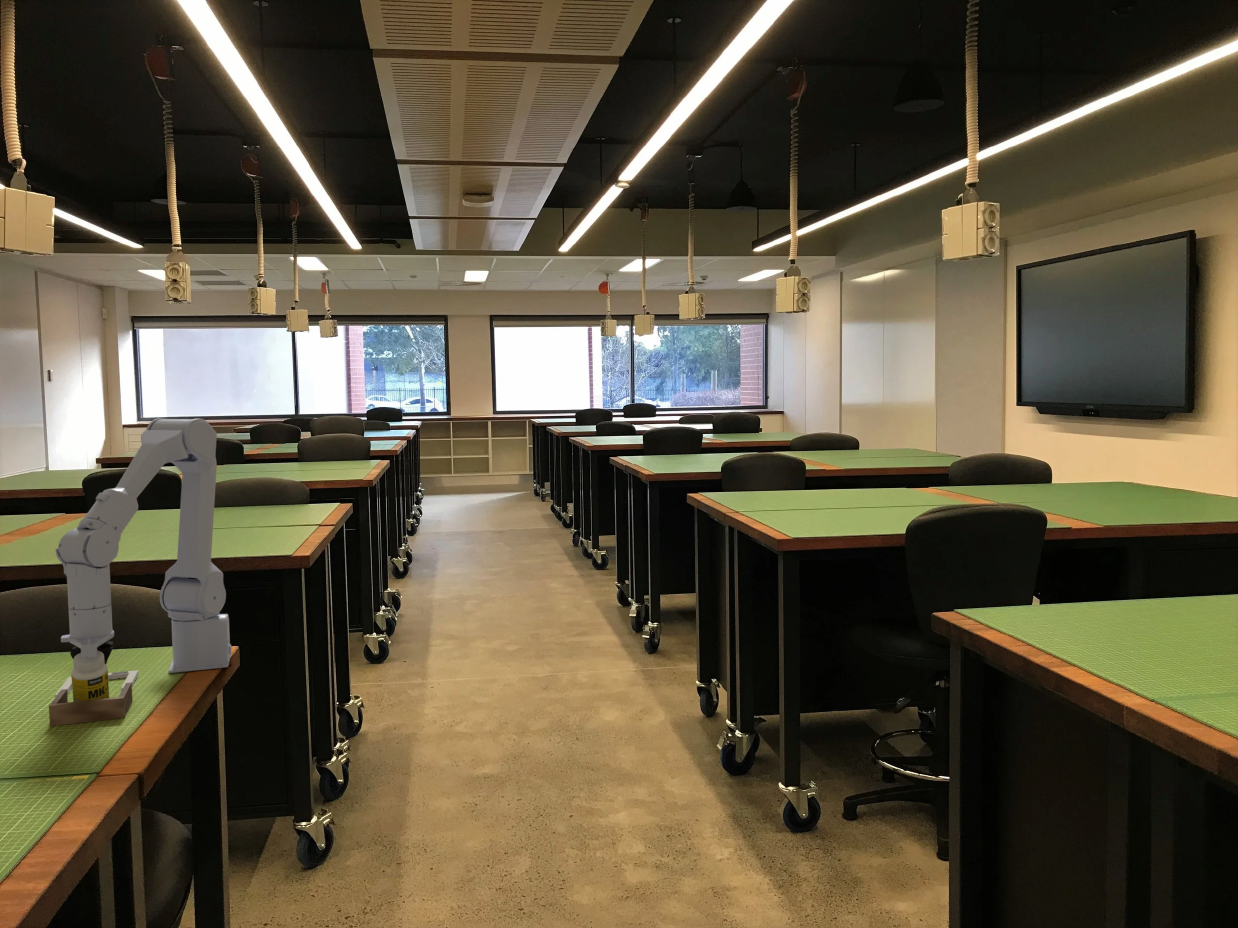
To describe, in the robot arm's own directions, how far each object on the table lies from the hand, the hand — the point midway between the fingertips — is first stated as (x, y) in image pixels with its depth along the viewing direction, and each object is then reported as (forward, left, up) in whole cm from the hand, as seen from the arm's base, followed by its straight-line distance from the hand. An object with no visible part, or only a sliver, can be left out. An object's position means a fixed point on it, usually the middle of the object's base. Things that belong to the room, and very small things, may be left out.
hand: (94, 691), depth 139 cm
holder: (-1, +4, -2) cm, 5 cm away
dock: (+1, -8, -2) cm, 8 cm away
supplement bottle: (0, +2, -1) cm, 3 cm away
